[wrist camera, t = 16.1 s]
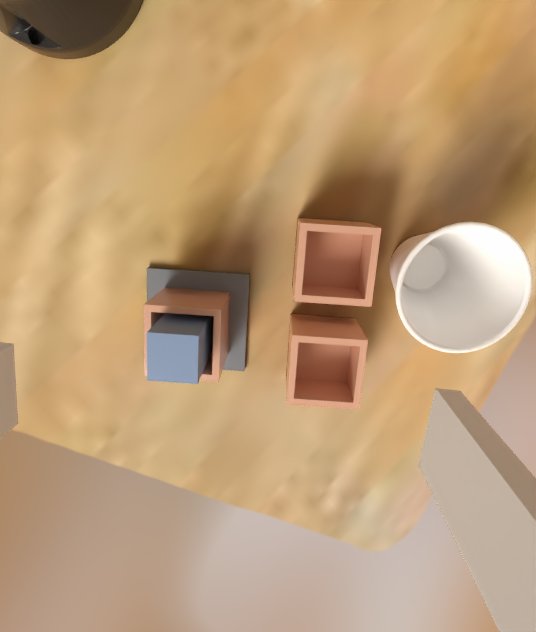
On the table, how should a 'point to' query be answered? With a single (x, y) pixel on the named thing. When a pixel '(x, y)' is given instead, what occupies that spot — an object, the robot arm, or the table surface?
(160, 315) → the pot
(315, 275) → the pot
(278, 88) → the table surface
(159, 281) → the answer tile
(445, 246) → the cup
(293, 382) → the pot
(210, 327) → the blue rectangular block
